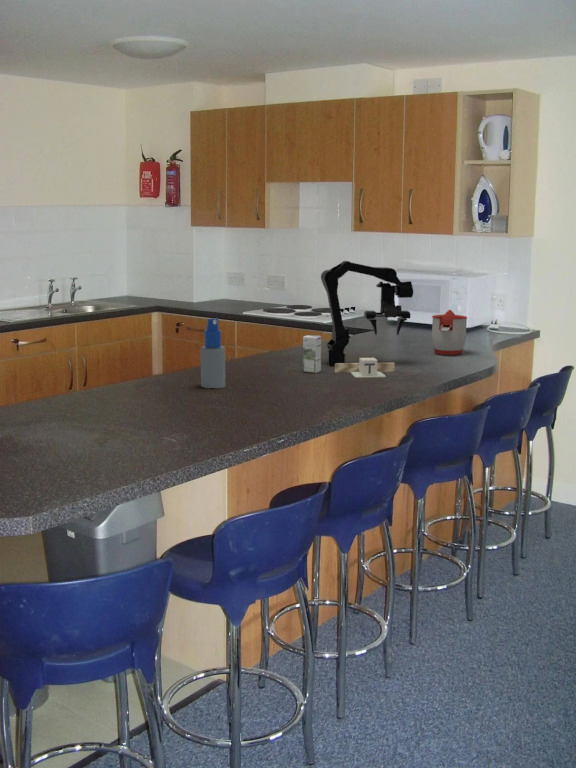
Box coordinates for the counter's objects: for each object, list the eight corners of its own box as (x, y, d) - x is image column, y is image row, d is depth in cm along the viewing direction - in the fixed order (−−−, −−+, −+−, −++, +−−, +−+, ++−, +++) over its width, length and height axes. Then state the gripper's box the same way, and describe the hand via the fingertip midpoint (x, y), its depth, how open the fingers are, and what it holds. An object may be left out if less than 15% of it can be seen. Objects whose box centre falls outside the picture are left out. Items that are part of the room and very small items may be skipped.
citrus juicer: (426, 355, 390) (427, 311, 386) (434, 350, 406) (436, 307, 402) (461, 358, 385) (463, 312, 381) (468, 352, 400) (470, 308, 396)
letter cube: (361, 375, 341) (362, 360, 340) (359, 372, 347) (359, 357, 346) (377, 375, 341) (377, 360, 340) (373, 372, 347) (374, 357, 346)
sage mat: (355, 377, 339) (355, 376, 339) (350, 373, 348) (350, 372, 348) (385, 377, 340) (385, 376, 340) (380, 372, 350) (380, 371, 350)
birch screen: (335, 372, 349) (335, 364, 348) (334, 372, 350) (334, 363, 350) (394, 371, 352) (394, 363, 351) (393, 371, 353) (393, 362, 352)
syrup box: (321, 370, 353) (321, 335, 350) (315, 373, 347) (315, 337, 345) (308, 369, 355) (308, 334, 352) (302, 372, 350) (302, 336, 347)
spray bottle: (229, 387, 320) (228, 319, 315) (206, 389, 316) (205, 320, 311) (219, 382, 328) (219, 316, 323) (197, 384, 324) (196, 317, 319)
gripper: (369, 300, 357) (368, 338, 360) (414, 299, 359) (413, 337, 362) (364, 297, 368) (363, 334, 371) (407, 297, 370) (406, 333, 373)
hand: (386, 335), depth 369 cm, fingers open, 9 cm apart
